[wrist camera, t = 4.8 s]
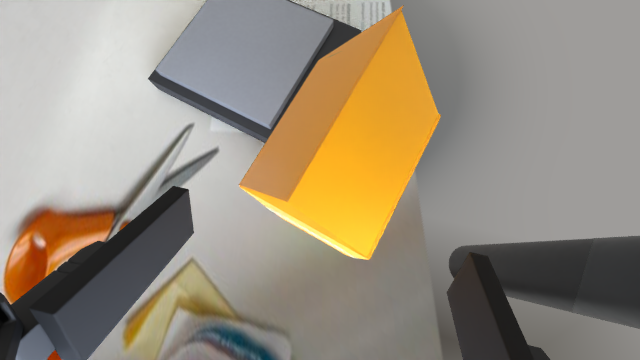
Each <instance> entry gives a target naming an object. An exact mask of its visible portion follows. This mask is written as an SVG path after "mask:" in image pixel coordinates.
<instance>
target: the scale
mask: <svg viewBox="0 0 640 360" xmlns="http://www.w3.org/2000/svg"><path fill="white" fill-rule="evenodd" d="M360 33H361V30H359V29H357V28H354V27H352V26H350V25H347V24H345V23H342V22H340V21H338V20H335V19H333V18H330V17H328V16H326V15H323V14H321V13H318V12H316V11H314V10H311V9H309V8H306V7H304V6H302V5H299V4H297V3H294V2H292V1H290V0H207V1H206V2H205V4H204V5H203V6H202V8H201V9H200V10H199V12H198V13H197V14H196V16H195V17H194V18H193V20H192V21H191V22H190V24H189V25H188V26H187V28H186V29H185V30H184V32H183V33H182V34H181V36H180V37H179V38H178V40H177V41H176V42H175V44H174V45H173V46H172V47H171V49H170V50H169V51H168V53H167V54H166V55H165V57H164V58H163V59H162V61H161V62H160V63H159V65H158V66H157V67H156V69H155V70H154V71H153V73H152V74H151V75H150V77H149V78H148V79H149V80H150V81H151V82H152V83H153V84H154V85H155V86H156V87H157V88H158V89H160V90H161V91H163V92H165V93H167V94H169V95H171V96H173V97H175V98H177V99H179V100H181V101H183V102H185V103H187V104H189V105H191V106H193V107H195V108H197V109H199V110H201V111H203V112H205V113H207V114H209V115H211V116H213V117H215V118H217V119H219V120H221V121H223V122H225V123H227V124H229V125H231V126H233V127H235V128H237V129H239V130H241V131H243V132H245V133H247V134H249V135H251V136H253V137H255V138H257V139H259V140H261V141H263V142H265V143H266V142H267V140H268V138H269V137H270V135H271V134H272V132H273V131H274V129H275V127H276V126H277V124H278V123H279V121H280V120H281V118H282V116H283V115H284V113H285V112H286V110H287V109H288V107H289V106H290V104H291V102H292V101H293V99H294V98H295V96H296V95H297V93H298V91H299V90H300V88H301V87H302V85H303V84H304V82H305V80H306V79H307V77H308V76H309V74H310V73H311V71H312V70H313V68H314V66H315V65H316V63H317V62H318V60H320V59H321V58H323V57H324V56H326V55H327V54H329V53H331V52H332V51H334V50H335V49H337V48H338V47H340V46H341V45H343V44H345V43H346V42H348V41H349V40H351V39H352V38H354V37H355V36H357V35H358V34H360Z"/></svg>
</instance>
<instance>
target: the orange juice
mask: <svg viewBox="0 0 640 360" xmlns="http://www.w3.org/2000/svg"><path fill="white" fill-rule="evenodd" d="M402 7H403V6H402ZM402 7H400V8H399V9H397V10H396V11H394V12H393V13H391V14H390V15H388V16H386V17H385V18H383V19H382V20H380V21H379V22H377V23H376V24H374V25H372V26H371V27H369V28H368V29H366V30H365V31H363V32H362V33H360V34H358V35H357V36H355V37H354V38H352V39H351V40H349V41H348V42H346V43H345V44H343V45H341V46H340V47H338V48H337V49H335V50H334V51H332V52H331V53H329V54H327V55H326V56H324V57H323V58H321V59H320V60H318V62H317V63H316V65H315V66H314V68H313V70H312V71H311V73H310V74H309V76H308V77H307V79H306V80H305V82H304V84H303V85H302V87H301V88H300V90H299V91H298V93H297V95H296V96H295V98H294V99H293V101H292V102H291V104H290V106H289V107H288V109H287V110H286V112H285V113H284V115H283V116H282V118H281V120H280V121H279V123H278V124H277V126H276V127H275V129H274V131H273V132H272V134H271V135H270V137H269V138H268V140H267V142H266V143H265V145H264V146H263V148H262V149H261V151H260V152H259V154H258V156H257V157H256V159H255V160H254V162H253V163H252V165H251V167H250V168H249V170H248V171H247V173H246V174H245V176H244V178H243V179H242V181H241V182H240V184H239V185H240V187H241V188H242V189H243V190H245V191H246V192H247V193H249V194H250V195H251V196H253V197H254V198H255V199H257V200H258V201H259V202H261V203H262V204H263V205H264V206H265V207H266V208H268V209H269V210H270V211H272V212H274V213H276V214H277V215H278V216H280V217H281V218H282V219H284V220H286V221H287V222H289V223H291V224H293V225H294V226H296V227H298V228H300V229H301V230H303V231H305V232H307V233H308V234H310V235H312V236H314V237H315V238H317V239H319V240H321V241H322V242H324V243H326V244H328V245H329V246H331V247H333V248H335V249H336V250H338V251H340V252H342V253H343V254H345V255H347V256H350V257H353V258H361V259H367V260H369V259H370V258H371V256H372V254H373V252H374V250H375V248H376V246H377V244H378V242H379V240H380V238H381V236H382V234H383V232H384V230H385V228H386V226H387V224H388V222H389V220H390V218H391V216H392V214H393V212H394V210H395V208H396V206H397V204H398V202H399V200H400V198H401V196H402V194H403V192H404V190H405V188H406V186H407V184H408V182H409V180H410V178H411V176H412V174H413V172H414V170H415V168H416V166H417V164H418V162H419V160H420V158H421V156H422V154H423V152H424V150H425V147H426V146H427V144H428V142H429V140H430V138H431V136H432V134H433V132H434V130H435V128H436V126H437V124H438V122H439V120H440V116H441V115H440V114H438V111H437V109H436V106H435V103H434V100H433V97H432V95H431V92H430V89H429V86H428V83H427V81H426V78H425V75H424V72H423V69H422V67H421V64H420V61H419V58H418V55H417V53H416V50H415V47H414V44H413V42H412V39H411V36H410V33H409V30H408V27H407V25H406V22H405V19H404V16H403V14H402V11H401V9H402Z"/></svg>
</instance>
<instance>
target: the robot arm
mask: <svg viewBox="0 0 640 360" xmlns="http://www.w3.org/2000/svg"><path fill="white" fill-rule="evenodd" d="M193 233H194V231H193V222H192V214H191V206H190V198H189V190H188V189H185V188H180V187H176V186H173V187H172V188H170V189H169V190H168V191H167V192H166V193H164V194H163V195H162V196H161V197H160V198H159V199H157V200H156V201H155V202H154V203H153V204H151V205H150V206H149V207H148V208H147V209H145V210H144V211H143V212H142V213H141V214H140V215H138V216H137V217H136V218H135V219H134V220H132V221H131V222H130V223H129V224H128V225H126V226H125V227H124V228H123V229H122V230H120V231H119V232H118V233H117V234H116V235H115V236H113V237H112V238H111V239H110V240H109V241H107V242H106V243H105V242H101V241H97V242H95V243H93V244H91V245H89V246H87V247H84V248H82V249H81V250H80V251H78V252H77V253H76V254H75V255H73V256H72V257H71V258H70V259H69V260H68V262H65V263H63V264H62V265H61V266H60V267H58V269H57V270H56V271H53V272H52V273H51V274H49V275H48V276H47V277H46V278H44V279H43V280H42V281H41V282H39V283H38V284H37V285H36V286H34V287H33V288H32V289H31V290H29V291H28V292H27V293H26V294H24V295H23V296H22V297H20V298H19V299H18V300H17V301H15V302H14V303H13V304H11V305H10V303H9V302H8V300H7V299H6V298H5V296H4V295H3V294H2V293H0V360H48V359H47V358H48V357H49V356H50V354H51V353H52V352H53V351H54V350H56V352H57V353H58V355H59V356H60V358H61V359H62V360H87V359H88V358H89V357H90V356H91V354H92V353H93V352H94V351H95V350H96V348H97V347H98V346H99V345H100V344H101V342H102V341H103V340H104V339H105V338H106V337H107V335H108V334H109V333H110V332H111V331H112V329H113V328H114V327H115V326H116V325H117V323H118V322H119V321H120V320H121V319H122V318H123V316H124V315H125V314H126V313H127V312H128V310H129V309H130V308H131V307H132V306H133V304H134V303H135V302H136V301H137V300H138V299H139V297H140V296H141V295H142V294H143V293H144V291H145V290H146V289H147V288H148V287H149V285H150V284H151V283H152V282H153V281H154V280H155V278H156V277H157V276H158V275H159V274H160V272H161V271H162V270H163V269H164V268H165V266H166V265H167V264H168V263H169V262H170V261H171V259H172V258H173V257H174V256H175V255H176V253H177V252H178V251H179V250H180V249H181V247H182V246H183V245H184V244H185V243H186V242H187V240H188V239H189V238H190V237H191V236H192V234H193ZM447 295H448V300H449V303H450V308H451V312H452V315H453V320H454V324H455V328H456V332H457V336H458V340H459V345H460V349H461V353H462V357H463V360H550V359H549V357H548V356H547V355H546V354H545V353H544V351H543V350H542V349H541V348H538V347H534V346H529V345H527V343H526V340H525V338H524V336H523V334H522V331H521V329H520V327H519V325H518V323H517V320H516V318H515V316H514V314H513V311H512V309H511V307H510V305H509V302H508V300H507V298H506V296H505V294H504V291H503V289H502V287H501V285H500V282H499V280H498V278H497V276H496V274H495V271H494V269H493V267H492V265H491V262H490V260H489V258H488V256H485V255H480V254H476V253H471V252H470V253H469V254H468V256H467V258H466V260H465V261H464V263H463V265H462V267H461V268H460V270H459V272H458V274H457V275H456V277H455V279H454V281H453V283H452V284H451V286H450V288H449V289H448V291H447Z"/></svg>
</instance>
